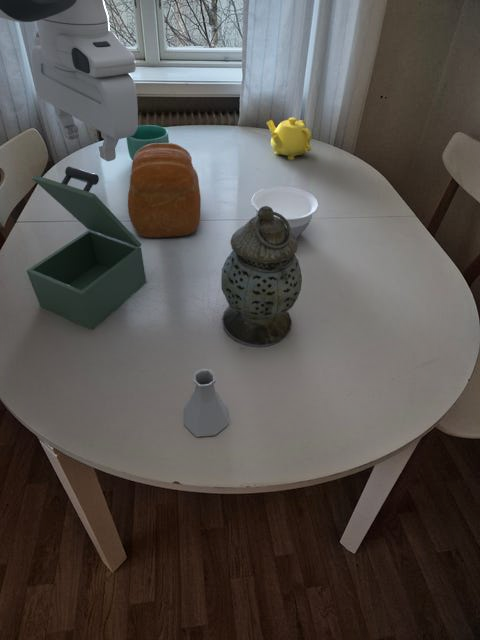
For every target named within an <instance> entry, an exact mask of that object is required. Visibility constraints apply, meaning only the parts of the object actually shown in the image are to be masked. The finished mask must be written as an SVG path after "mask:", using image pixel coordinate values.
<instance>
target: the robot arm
mask: <svg viewBox="0 0 480 640" xmlns="http://www.w3.org/2000/svg"><path fill="white" fill-rule="evenodd" d="M0 18H1V19H5V20H8V21H12V22H16V23H32V22H33V23H34V22H35V23H36V27H37V32H36V33H35V36H34V39H33V40H34V46H33V47H32V50H31V60H32V61H31V63H32V70H33V77H34V84H35V85H34V86H35V90H36V92H37V94H38V96H39V98H40V99H41V100H42V101H44V102H46V103H48V104H50V105H51V106H53V107H54V112H55V114H56V117H57V119H58V121H59V123H60V125H61V127H62V128H61V129H62V132H63V133H62V135H63V136H64V137H65V138H67V139H69V140H70V141H72V140H76V139H79V137H80V134H79V126H77V125H76V124H75V121H74V118H75V119H77V120H79V121H81V122H83V123H84V124H86V125H88V126H90V127H92V128H93V129H95V130H97V131H99V132H100V136H101V139H103V142H102V145H101V146H98V151H99V157H100V158H101V159H103V160H104V161H106V162H111V161H114V160H116V158H117V156H116V155H117V154H116V147H117V145H118V143H119V140H122V139H126V137H130V136H133V135H134V134H135V132H136V131H137V128H138V126H139V106H138V94H137V87H136V83H135V80H134V78H133V77H132V75H131V73H135V72H136V69H137V64H136V57H135V55H134V53H133V52H131V50H130V49H128V48H127V47H126V45H125V44H124V43H123V42H121V41H120V39H119V38H118V37H117V36H116V34H115V33H114V32H113V31H112V30H110V22H109V21H110V20H109V14H108V11H107V8H106V4H105V0H0Z"/></svg>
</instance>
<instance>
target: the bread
mask: <svg viewBox="0 0 480 640" xmlns="http://www.w3.org/2000/svg"><path fill="white" fill-rule="evenodd" d="M192 160H193V159H192V156H191V154H190V152H189V151H188V150H187V149H186V148H184V147H183V146H181V145H179V144H176V143H173V142H169V143H152V144H148V145H145V146H143V147H142V148H141V149H139V150H138V151H137V152H136V153H135V155H134V158H133V160H132V162H131V163H132V164H131V170H130V171H131V173H130V176H129V185H128V193H127V211H128V217H129V220H130V223H131V225H132V227H133V228H134V230H135V231H136V233H137V235H139V236H141V237H144V238H156V239H157V238H172V237H182V236H188V235H190V234H192V233H194V232H195V231H196V230H197V228H198V227H199V225H200V219H201V205H202V204H201V189H200V181H199V180H200V179H199V174H198V172H197V171H196V169H195V167H194V165H193V163H192V162H193V161H192Z"/></svg>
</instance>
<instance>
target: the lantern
mask: <svg viewBox="0 0 480 640" xmlns="http://www.w3.org/2000/svg"><path fill="white" fill-rule="evenodd" d="M274 215H275V216H277V217H275V216H274ZM278 217H279V218H280V219H279V218H278ZM284 223H285V224H284ZM285 225H286V226H285ZM286 227H287V228H286ZM230 246H231V250H232V251H231V252H230V253H229V255H228V256H227V257H226V259H225V261H224V264H223V265H222V268H221V276H220V278H221V280H220V281H221V282H220V283H221V291H222V294H223V295H224V298H225V299H226V301H227V303H228V307H227V308H226V309H225V310H224V311H223V314H222V317H221V324H222V327H223V328H222V329H223V330H224V332H225V333H226V335H227V336H228V337H229V338H230V339H232V340H233V341H234V342H236V343H238V344H241V345H244V346H246V347H253V348H266V347H271V346H273V345H275V344H278V343H279V342H280V343H281V341H283V340H284V339H285V338H287V337H288V336H289V333H290V331H291V328H292V318H291V316H290V313H289V310H290V309H292V308H293V307H294V305H295V304H296V302H297V301H298V299H299V296H300V294H301V290H302V284H303V276H302V275H303V274H302V270H301V265H300V261H299V259H298V257H297V256H296V253H297V252H298V242H297V239H295V237H294V236H293V235H292V234H291V228H290V225H289V223H288V221H287V220H286V219H285V218H284V217H283V216H282V215H281V214H279V213H276V212H273V210H272V208H271V207H268V206H263V207H261V208H260V209H259V211H258V216H256V215H255V216H253V217H252V218H250V219H249V220H248V221H247V222H246V223H245V224H244V225H242V226H240V227H239V228H238V229H236V231H234V233H233V234H232V236H231V238H230Z"/></svg>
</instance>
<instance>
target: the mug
mask: <svg viewBox="0 0 480 640" xmlns="http://www.w3.org/2000/svg"><path fill="white" fill-rule="evenodd" d="M125 139H126V145H127V151H128V155H129V157H130V159H131V161H133V158H134V155H135V153H136V152H137V151H138V150H139V149H141V148H142V147H143V146H145V145H148V144H152V143H170V139H169V131H168V129H167V128H165V127H163V126H160V125H154V124H143V125H138V128H137V131H136V132H135V134H134V135H133V136H130V137H126V138H125Z"/></svg>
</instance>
